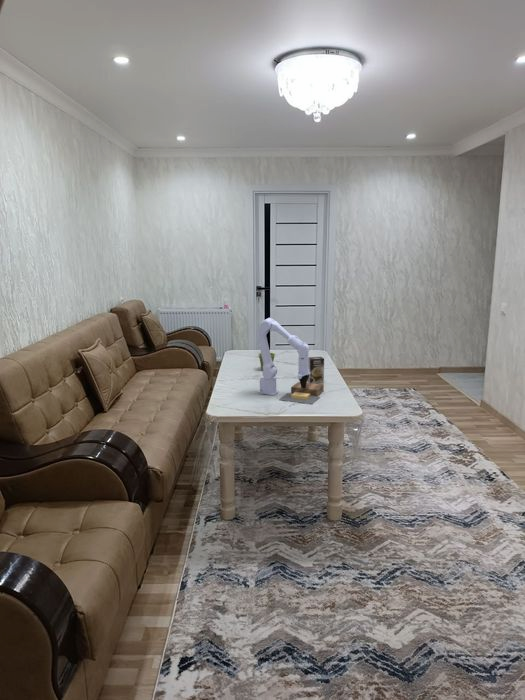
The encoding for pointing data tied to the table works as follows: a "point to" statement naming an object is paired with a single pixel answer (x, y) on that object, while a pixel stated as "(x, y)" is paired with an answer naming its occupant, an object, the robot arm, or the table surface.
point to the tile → (300, 395)
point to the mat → (309, 400)
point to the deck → (308, 388)
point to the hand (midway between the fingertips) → (303, 387)
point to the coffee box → (316, 370)
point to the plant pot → (262, 359)
